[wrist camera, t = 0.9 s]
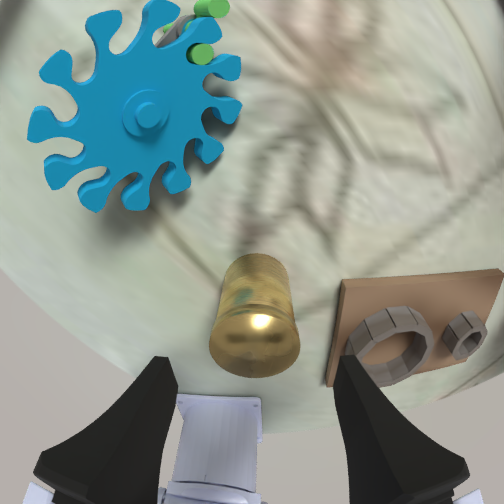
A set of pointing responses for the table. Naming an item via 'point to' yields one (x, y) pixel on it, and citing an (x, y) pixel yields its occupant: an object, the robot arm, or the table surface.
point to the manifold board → (412, 322)
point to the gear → (139, 103)
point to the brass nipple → (255, 319)
